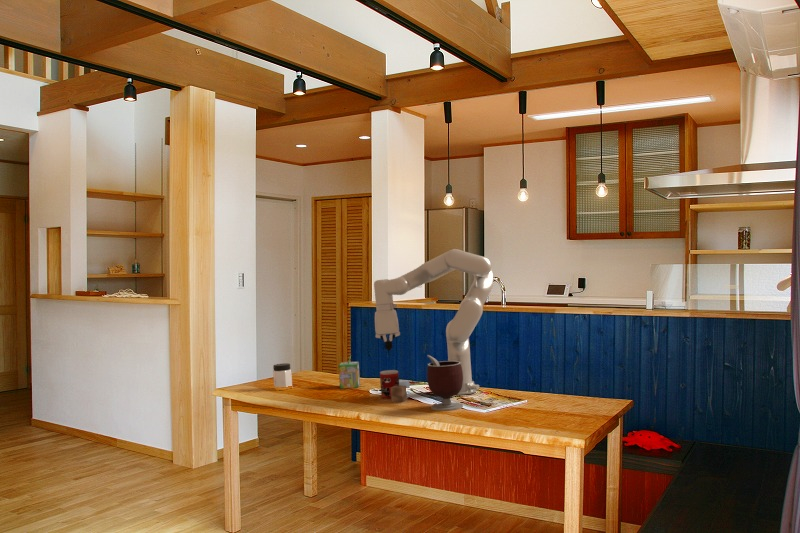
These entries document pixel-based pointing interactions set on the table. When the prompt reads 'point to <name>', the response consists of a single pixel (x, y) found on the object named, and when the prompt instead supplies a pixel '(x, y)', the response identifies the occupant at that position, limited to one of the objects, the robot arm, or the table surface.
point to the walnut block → (398, 393)
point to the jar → (282, 375)
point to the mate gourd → (445, 382)
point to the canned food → (388, 382)
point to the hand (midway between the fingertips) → (389, 350)
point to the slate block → (404, 383)
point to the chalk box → (349, 374)
